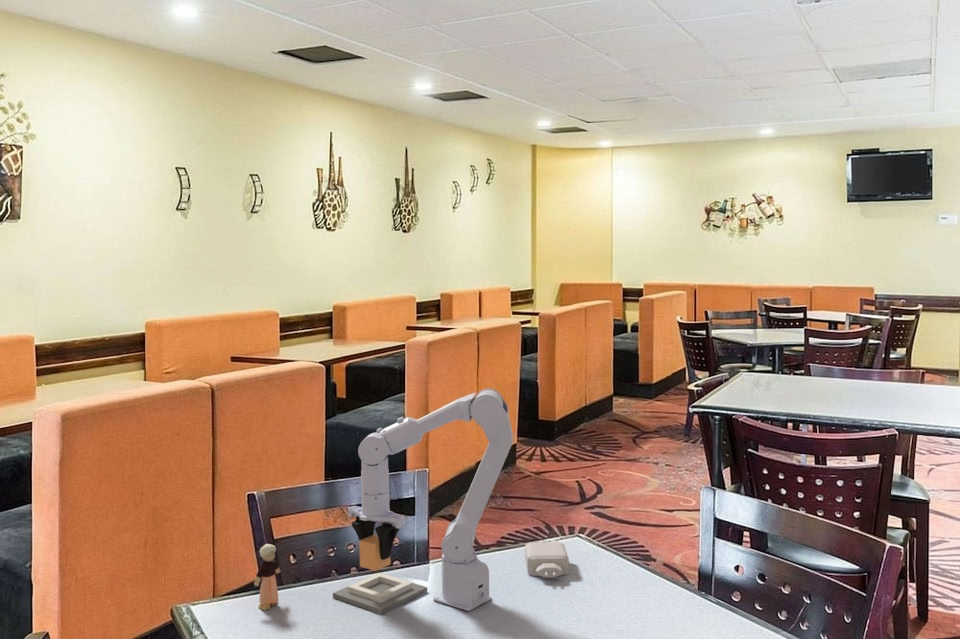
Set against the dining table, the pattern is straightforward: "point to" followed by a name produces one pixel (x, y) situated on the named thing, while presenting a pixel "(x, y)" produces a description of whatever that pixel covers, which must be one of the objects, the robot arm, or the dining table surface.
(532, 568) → the charger
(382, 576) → the socket plate
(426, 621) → the dining table surface
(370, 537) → the block
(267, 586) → the grandmother figurine
